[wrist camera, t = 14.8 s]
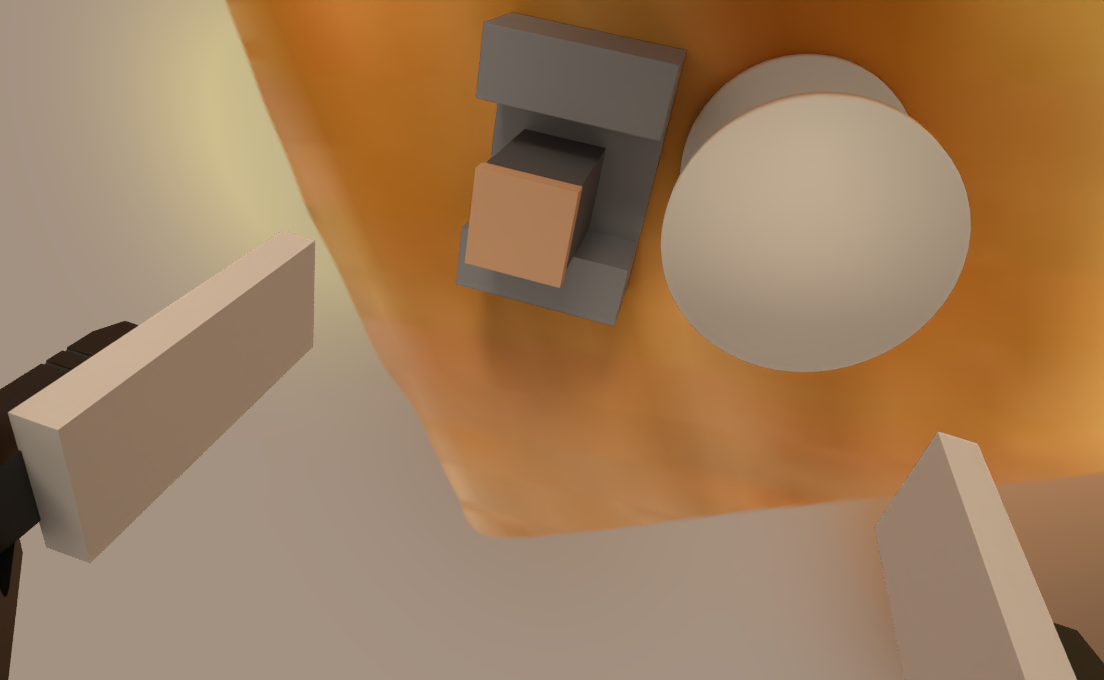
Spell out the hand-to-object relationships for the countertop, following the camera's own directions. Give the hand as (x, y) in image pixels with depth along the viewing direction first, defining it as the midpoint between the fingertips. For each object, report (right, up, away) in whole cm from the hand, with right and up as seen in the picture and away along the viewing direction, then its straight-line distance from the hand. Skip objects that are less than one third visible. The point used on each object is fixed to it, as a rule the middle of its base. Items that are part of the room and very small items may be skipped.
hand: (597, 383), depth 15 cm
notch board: (0, +10, +20) cm, 22 cm away
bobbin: (+10, +9, +18) cm, 22 cm away
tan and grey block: (-1, +9, +20) cm, 22 cm away
